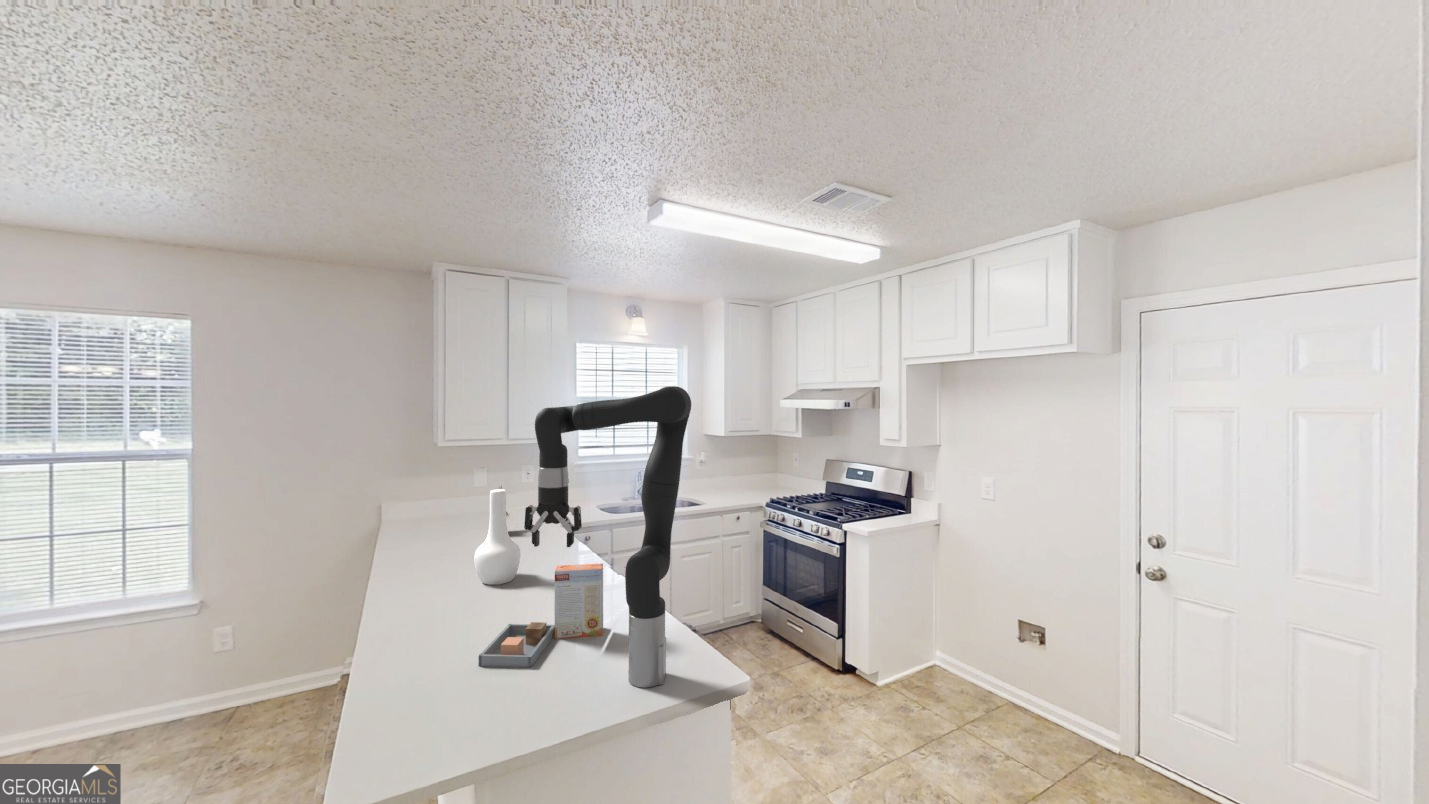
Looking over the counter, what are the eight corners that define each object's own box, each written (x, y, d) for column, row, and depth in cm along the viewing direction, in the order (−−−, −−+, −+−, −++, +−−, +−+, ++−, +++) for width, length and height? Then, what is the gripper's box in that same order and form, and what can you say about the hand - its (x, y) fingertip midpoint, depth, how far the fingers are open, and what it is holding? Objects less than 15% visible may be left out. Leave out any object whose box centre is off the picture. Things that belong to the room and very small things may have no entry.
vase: (525, 582, 210) (525, 491, 210) (479, 590, 201) (479, 495, 200) (514, 570, 224) (514, 485, 224) (470, 577, 215) (470, 489, 214)
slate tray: (555, 636, 163) (555, 624, 163) (531, 670, 143) (531, 656, 143) (509, 635, 164) (509, 623, 164) (478, 668, 144) (478, 655, 144)
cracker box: (603, 629, 168) (603, 562, 168) (602, 638, 162) (603, 568, 162) (556, 632, 166) (556, 564, 166) (553, 641, 160) (554, 570, 160)
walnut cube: (546, 637, 161) (546, 622, 161) (541, 644, 156) (541, 629, 156) (531, 637, 161) (531, 622, 161) (525, 644, 156) (525, 628, 156)
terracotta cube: (523, 653, 151) (523, 637, 151) (517, 661, 146) (517, 644, 146) (507, 653, 151) (507, 637, 151) (500, 661, 146) (500, 644, 146)
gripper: (520, 486, 138) (520, 549, 138) (576, 486, 138) (576, 550, 138) (531, 481, 146) (531, 541, 146) (584, 482, 145) (584, 542, 145)
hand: (553, 546), depth 142 cm, fingers open, 8 cm apart
